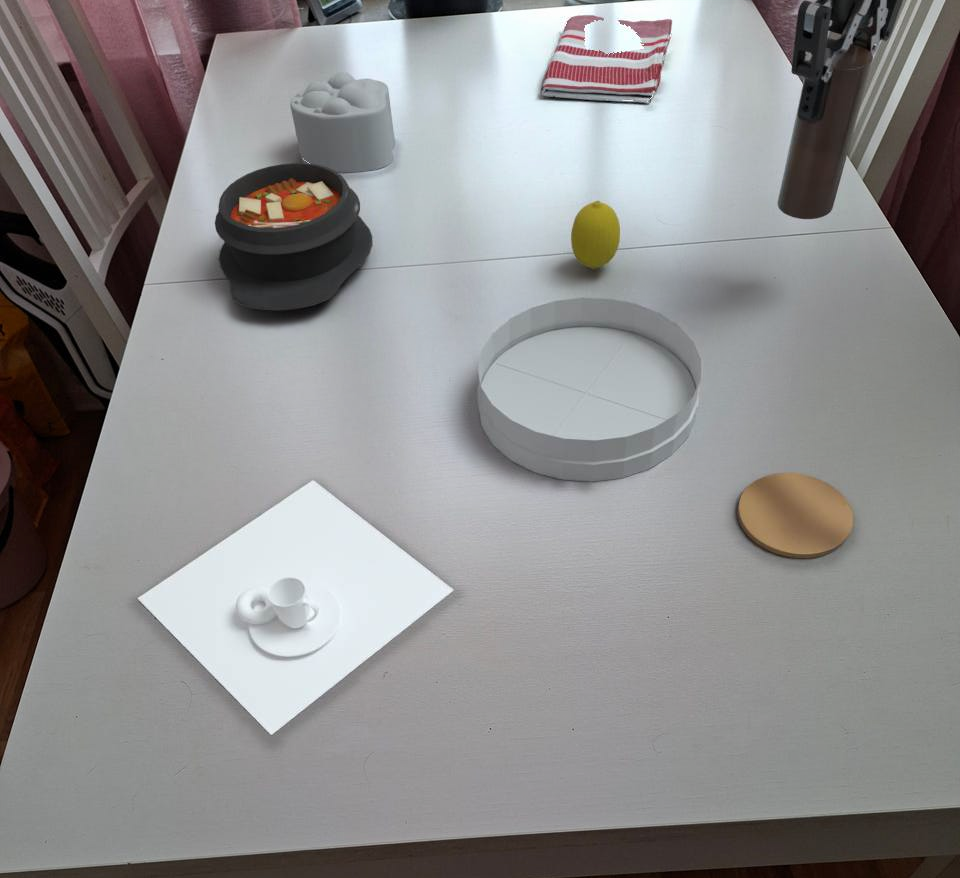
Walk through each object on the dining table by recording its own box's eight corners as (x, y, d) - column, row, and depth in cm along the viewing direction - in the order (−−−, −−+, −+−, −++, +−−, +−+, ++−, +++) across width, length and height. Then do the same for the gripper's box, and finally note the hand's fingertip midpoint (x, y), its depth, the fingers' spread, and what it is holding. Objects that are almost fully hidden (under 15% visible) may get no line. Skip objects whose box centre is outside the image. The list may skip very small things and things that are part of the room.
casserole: (363, 322, 101) (351, 254, 94) (203, 327, 102) (179, 259, 95) (384, 204, 115) (374, 137, 108) (243, 209, 116) (225, 143, 109)
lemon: (566, 280, 103) (568, 213, 97) (574, 253, 106) (577, 187, 100) (613, 284, 102) (618, 217, 96) (620, 257, 105) (626, 190, 99)
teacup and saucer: (226, 618, 77) (212, 588, 74) (299, 566, 80) (288, 536, 77) (287, 676, 73) (275, 648, 70) (361, 619, 76) (353, 590, 73)
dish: (730, 373, 92) (739, 332, 88) (640, 511, 82) (645, 472, 78) (541, 316, 99) (541, 275, 95) (437, 436, 89) (432, 396, 85)
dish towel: (672, 35, 139) (674, 15, 137) (654, 105, 126) (656, 85, 124) (566, 31, 142) (566, 12, 140) (538, 99, 129) (538, 79, 127)
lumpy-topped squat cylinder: (391, 170, 120) (382, 101, 113) (296, 175, 120) (281, 107, 113) (396, 132, 126) (387, 65, 119) (305, 137, 126) (292, 70, 119)
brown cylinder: (799, 185, 95) (833, 37, 83) (844, 203, 92) (885, 53, 81) (766, 206, 93) (796, 58, 82) (811, 225, 90) (849, 75, 79)
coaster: (782, 461, 84) (783, 456, 84) (874, 516, 80) (876, 511, 79) (714, 516, 81) (715, 512, 80) (806, 576, 76) (808, 572, 76)
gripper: (871, -80, 67) (816, 149, 81) (974, -132, 72) (906, 93, 86) (788, -100, 70) (749, 124, 84) (893, -147, 75) (839, 71, 89)
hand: (828, 107), depth 85 cm, fingers closed on brown cylinder, 5 cm apart
